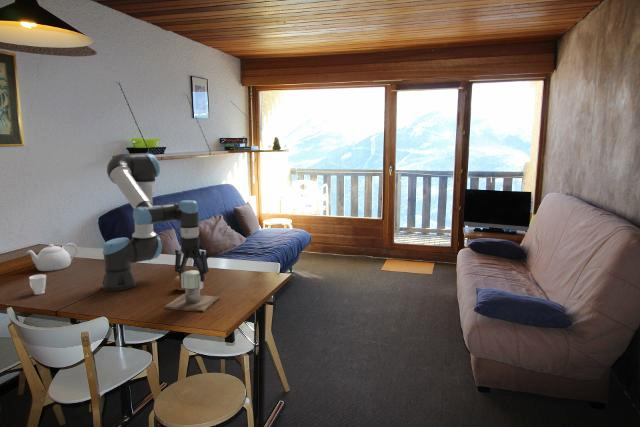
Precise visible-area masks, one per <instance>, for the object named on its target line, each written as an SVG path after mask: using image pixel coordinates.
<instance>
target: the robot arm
mask: <svg viewBox="0 0 640 427" xmlns="http://www.w3.org/2000/svg"><path fill="white" fill-rule="evenodd" d="M160 169H161V168H160V163H159V160H158V159H157V156H155V155H154V154H153V153H148V152H147V153H146V152H142V153H141V152H140V153H137V152H136V153H119V154H116V155H114V156H113V157H112V158H111V159H110V160H109V162H108V163H107V167H106V174H107V176H108V178H109V180H110V181H111V182H112V183H113V184H115V185H116V186H117V187H118V189H119V190H120V191H121V193H122V194H123V196H124V198H126V200H127V201H128V203H129V204H130V206H131V207H132V209H133V211H132V218H133V220H134V221H133V222H134V232H133V233H132V234H131V239H130V238H129V237H116V238H113V239H109V240H107V241H106V242H104V244H103V247H102V248H103V249H102V250H103V252H102V253H103V254H102V255H103V261H104V262H103V263H104V276H103V280H102V283H101V288H102V290H103V291H107V292H119V291H126V290H129V289H133V288H134V287H135V286H137V281H136V280H137V279H136V277H135V276H134V273H133V271H132V264H135V263H140V262H146V261H151V260H154V259H157V258H158V257H160V255H161V253H162V248H163V246H162V240H161V238H160V236H158V235H157V232H155V231H154V224H160V223H168V222H169V223H170V222H175V221H177V222H179V224H180V225H179V226H180V245H181V248H176V249H175V250H174V253H175V261H174V262H175V263H174V272H175V273H178V276H179V279H180V280H181V286H182V288H184V279H183V273H184V272H185V269H186V266H187V263H188V260H189V259H192V261H194V264H195V265H196V268H197V271H199V273H200V274H199V275H198V282H199V290H200V291H201V290H202V289H203V288H204V282H205V280H206V279H205V278H206V276H205V274H207V273H209V265H208V260H207V250H206V249H201V247H200V236H199V235H200V229H199V206H198V202H197V201H196V200H194V199H193V200H192V199H187V200H180V201H179V202H169V203H166V204H158V205H154V203H153V202H154V201H153V184H155V182H156V178H157V177H159V175H160V172H161V170H160ZM182 254H183V256H182ZM200 258H201V259H200ZM181 259H182V260H181Z"/></svg>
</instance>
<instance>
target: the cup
mask: <svg viewBox="0 0 640 427" xmlns="http://www.w3.org/2000/svg"><path fill="white" fill-rule="evenodd" d="M28 279H29V286H30V288H31V289H32V291H33V294H34V295H42V294H45V291H46V282H47V275H46V274H42V273H41V274H34V275H31V276H29V277H28Z"/></svg>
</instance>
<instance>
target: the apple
mask: <svg viewBox="0 0 640 427" xmlns="http://www.w3.org/2000/svg"><path fill="white" fill-rule="evenodd" d="M173 286H174V288H175V289H176V290H177V291H185V288H182V286H181V280H180V279H179V275H177V276H176V277H175V278H174V279H173Z"/></svg>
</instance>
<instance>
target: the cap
mask: <svg viewBox="0 0 640 427" xmlns="http://www.w3.org/2000/svg"><path fill="white" fill-rule="evenodd" d="M199 274H200V273H199V271H198V269H197V270H192V269H191V270H187V271H186V270H185V271H184V273H183V279H184V288H187V289H193V288H198V287H199V282H198V275H199Z"/></svg>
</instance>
